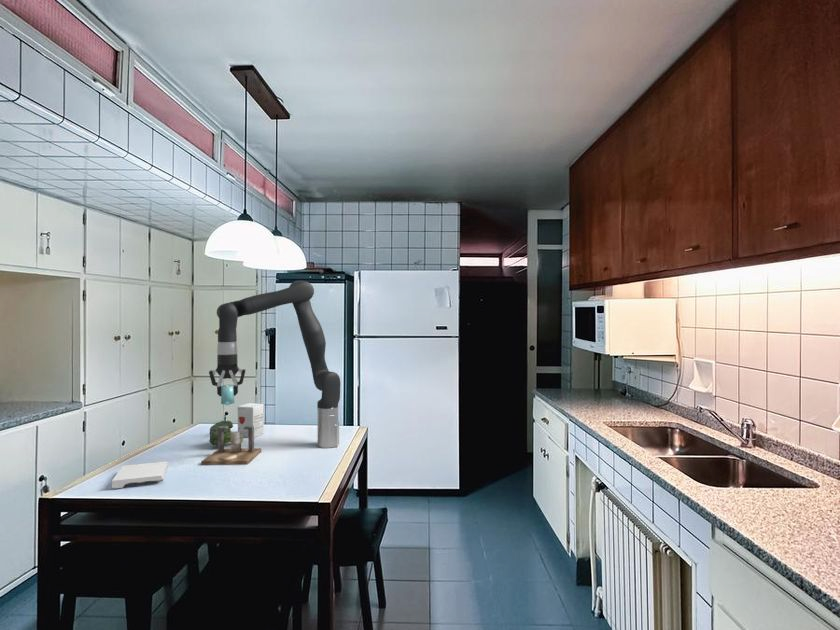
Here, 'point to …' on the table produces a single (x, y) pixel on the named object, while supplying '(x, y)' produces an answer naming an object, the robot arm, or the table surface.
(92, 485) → the table surface
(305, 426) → the table surface
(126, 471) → the food packaging
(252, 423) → the supplement box
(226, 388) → the teal rounded body
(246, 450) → the board with gray uprights
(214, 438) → the vegetable
